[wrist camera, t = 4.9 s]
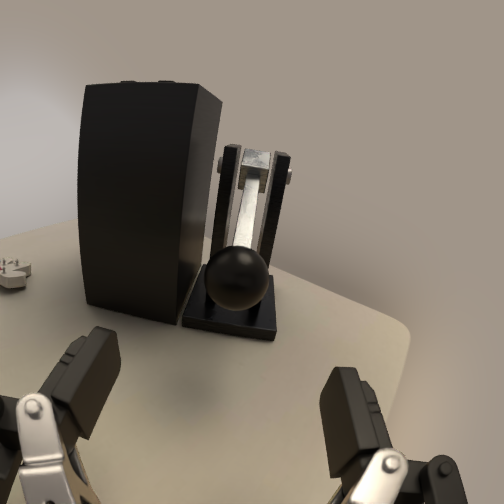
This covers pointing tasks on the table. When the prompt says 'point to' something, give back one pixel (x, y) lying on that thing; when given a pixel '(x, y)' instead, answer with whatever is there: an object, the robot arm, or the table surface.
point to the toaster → (144, 193)
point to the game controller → (13, 273)
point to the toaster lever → (241, 245)
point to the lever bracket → (263, 313)
